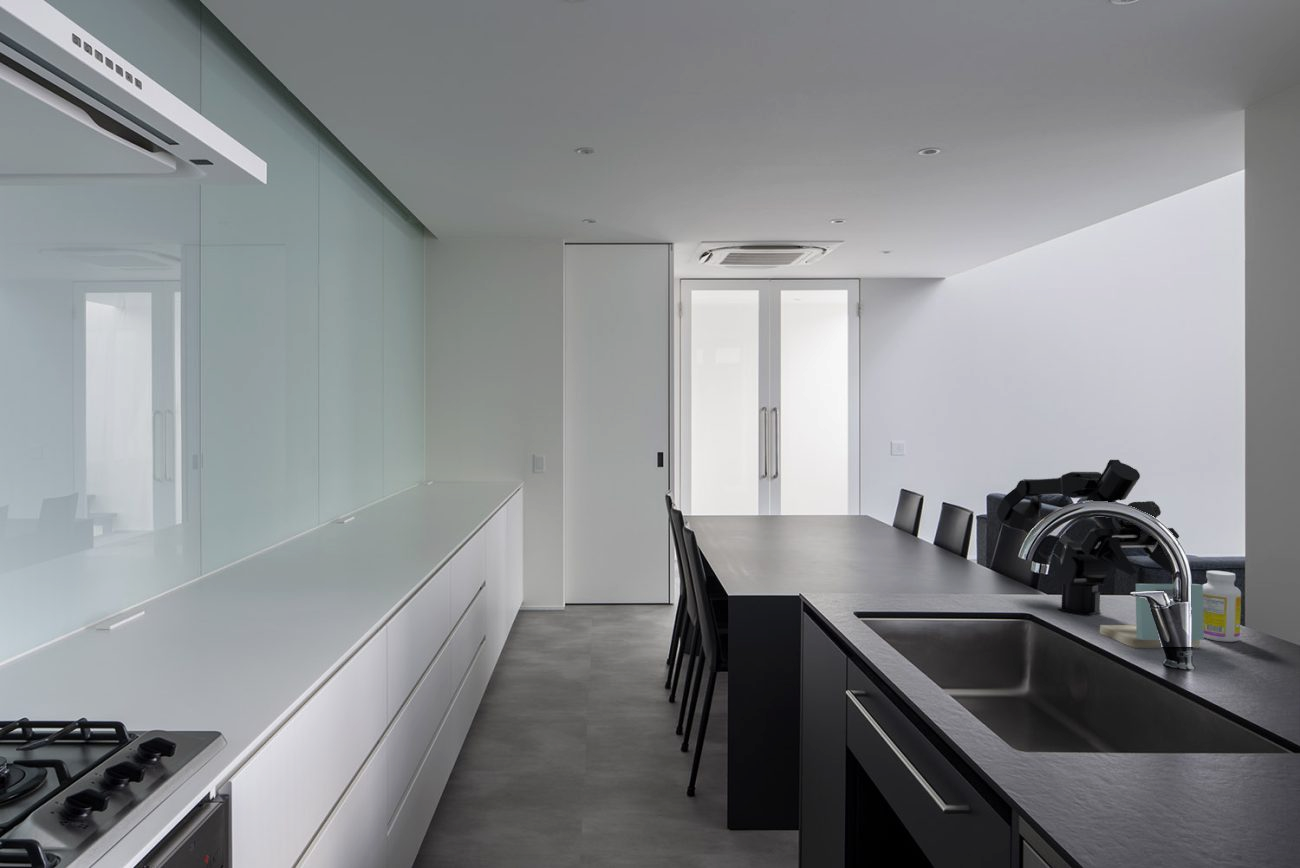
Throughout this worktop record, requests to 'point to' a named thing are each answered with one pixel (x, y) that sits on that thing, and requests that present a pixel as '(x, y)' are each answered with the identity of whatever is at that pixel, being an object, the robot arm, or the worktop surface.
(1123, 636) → the plate
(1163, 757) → the worktop surface
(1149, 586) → the panel
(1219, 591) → the supplement bottle
